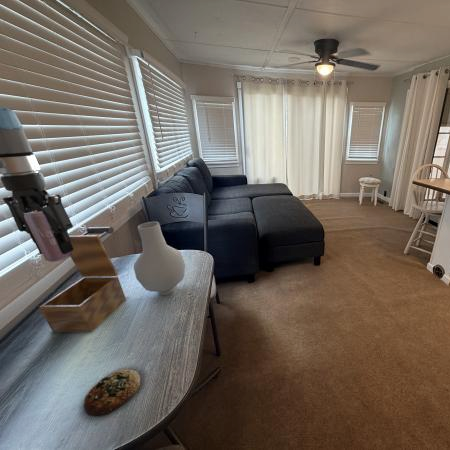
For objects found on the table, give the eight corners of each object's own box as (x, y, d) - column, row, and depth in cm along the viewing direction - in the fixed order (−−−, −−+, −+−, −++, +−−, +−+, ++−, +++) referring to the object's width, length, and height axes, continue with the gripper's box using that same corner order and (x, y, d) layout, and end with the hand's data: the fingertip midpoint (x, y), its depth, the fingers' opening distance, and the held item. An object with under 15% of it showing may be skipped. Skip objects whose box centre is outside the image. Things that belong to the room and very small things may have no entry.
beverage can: (72, 250, 75) (52, 205, 69) (73, 257, 71) (52, 209, 65) (46, 257, 71) (22, 210, 66) (45, 264, 67) (20, 215, 62)
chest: (92, 333, 75) (79, 306, 71) (53, 334, 75) (38, 307, 71) (126, 300, 90) (117, 276, 85) (94, 301, 90) (83, 276, 86)
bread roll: (76, 429, 51) (70, 410, 49) (96, 386, 61) (91, 370, 59) (137, 407, 55) (133, 389, 54) (146, 370, 65) (143, 355, 63)
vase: (148, 310, 84) (123, 239, 74) (139, 289, 96) (117, 225, 85) (195, 290, 94) (180, 224, 84) (182, 273, 106) (167, 213, 95)
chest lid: (96, 236, 77) (117, 222, 86) (58, 237, 77) (83, 223, 86) (116, 276, 85) (133, 259, 93) (82, 276, 85) (102, 260, 94)
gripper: (-34, 177, 59) (12, 258, 67) (41, 175, 58) (77, 258, 67) (2, 171, 66) (39, 246, 74) (69, 170, 65) (98, 245, 74)
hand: (57, 251), depth 71 cm, fingers closed on beverage can, 6 cm apart
